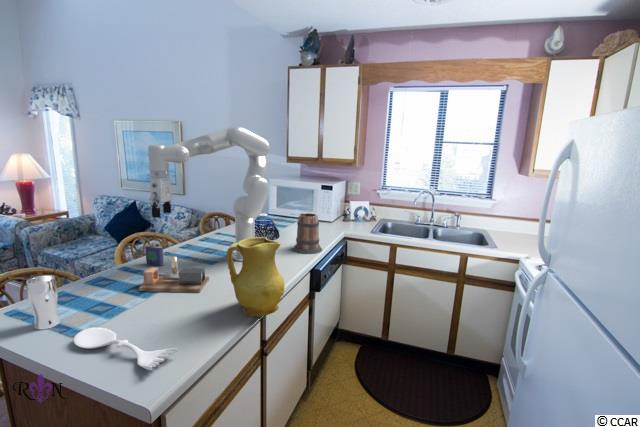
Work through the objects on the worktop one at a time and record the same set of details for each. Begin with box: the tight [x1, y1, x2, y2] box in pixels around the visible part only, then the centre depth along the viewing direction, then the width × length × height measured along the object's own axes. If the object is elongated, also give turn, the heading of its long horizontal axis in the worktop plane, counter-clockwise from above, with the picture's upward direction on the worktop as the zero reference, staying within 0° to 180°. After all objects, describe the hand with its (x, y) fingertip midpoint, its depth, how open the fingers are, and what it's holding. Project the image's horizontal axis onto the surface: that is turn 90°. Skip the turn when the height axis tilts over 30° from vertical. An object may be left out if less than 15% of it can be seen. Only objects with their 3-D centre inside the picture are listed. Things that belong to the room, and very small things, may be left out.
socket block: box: [143, 267, 160, 284], centre depth 130 cm, size 4×5×5 cm
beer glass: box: [25, 274, 61, 331], centre depth 100 cm, size 7×7×15 cm
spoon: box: [72, 327, 179, 371], centre depth 89 cm, size 9×32×4 cm, turn 68°
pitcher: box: [226, 236, 285, 318], centre depth 114 cm, size 17×19×25 cm
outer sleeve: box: [178, 267, 206, 285], centre depth 131 cm, size 8×5×5 cm, turn 92°
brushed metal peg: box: [162, 255, 203, 280], centre depth 130 cm, size 15×3×10 cm, turn 92°
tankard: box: [292, 212, 323, 255], centre depth 185 cm, size 24×17×20 cm
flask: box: [145, 242, 165, 267], centre depth 152 cm, size 9×3×11 cm, turn 74°
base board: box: [138, 275, 210, 293], centre depth 132 cm, size 23×12×2 cm, turn 92°
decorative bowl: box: [254, 213, 280, 241], centre depth 205 cm, size 20×20×14 cm
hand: (162, 214), depth 140 cm, fingers open, 9 cm apart
